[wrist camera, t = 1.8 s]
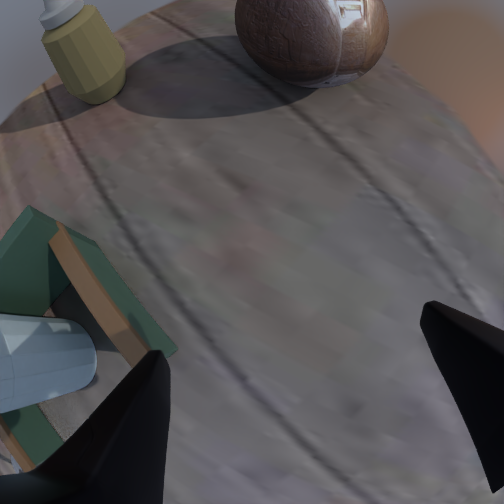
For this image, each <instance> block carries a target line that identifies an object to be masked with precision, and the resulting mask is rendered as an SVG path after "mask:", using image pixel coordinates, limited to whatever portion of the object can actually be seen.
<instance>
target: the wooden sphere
mask: <svg viewBox="0 0 504 504" xmlns="http://www.w3.org/2000/svg"><path fill="white" fill-rule="evenodd" d="M235 25H236V30H237V34H238V37H239V39H240V41H241V44H242V45H243V47H244V49H245V50H246V52H247V53H248V55H249V56H250V57H251V58H252V59H253V61H254V62H255V63H256V64H258V65H259V66H260V67H261V68H262V69H264V70H265V71H266V72H268V73H269V74H271V75H273V76H274V77H276V78H278V79H280V80H283V81H285V82H288V83H291V84H294V85H298V86H303V87H310V88H327V87H334V86H339V85H343V84H346V83H348V82H351V81H353V80H355V79H357V78H359V77H361V76H362V75H364V74H365V73H366V72H368V71H369V70H370V69H371V68H372V67H373V66H374V65H375V64H376V62H377V61H378V60H379V58H380V57H381V55H382V53H383V51H384V49H385V46H386V44H387V39H388V34H389V22H388V15H387V11H386V8H385V5H384V3H383V1H382V0H237V3H236V8H235Z"/></svg>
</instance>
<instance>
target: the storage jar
mask: <svg viewBox="0 0 504 504" xmlns="http://www.w3.org/2000/svg"><path fill="white" fill-rule="evenodd" d="M96 366H97V357H96V350H95V347H94V344H93V341H92V339H91V337H90V336H89V334H88V333H87V331H86V330H85V329H84V328H83V327H82V326H81V325H80V324H78V323H77V322H75V321H72V320H68V319H60V318H44V317H30V316H17V315H7V314H0V413H4V412H8V411H12V410H15V409H19V408H22V407H26V406H29V405H33V404H36V403H39V402H43V401H46V400H49V399H52V398H55V397H58V396H62V395H65V394H68V393H71V392H74V391H77V390H79V389H81V388H84V387H85V386H87V385H88V384H89V383H90V382H91V380H92V379H93V377H94V375H95V371H96Z"/></svg>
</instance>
